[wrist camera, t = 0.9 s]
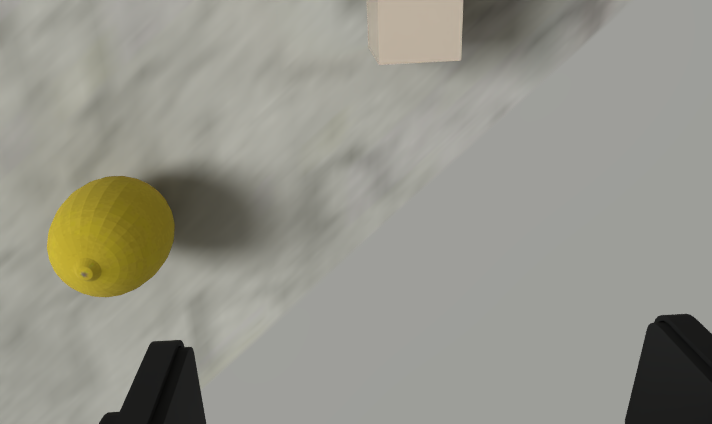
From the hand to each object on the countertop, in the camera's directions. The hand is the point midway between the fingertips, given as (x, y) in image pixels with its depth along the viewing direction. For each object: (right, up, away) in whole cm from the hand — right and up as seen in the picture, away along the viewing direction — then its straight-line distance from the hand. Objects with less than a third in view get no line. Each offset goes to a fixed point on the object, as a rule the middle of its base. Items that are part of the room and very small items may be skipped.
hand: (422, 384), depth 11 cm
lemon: (-14, +4, +20) cm, 25 cm away
